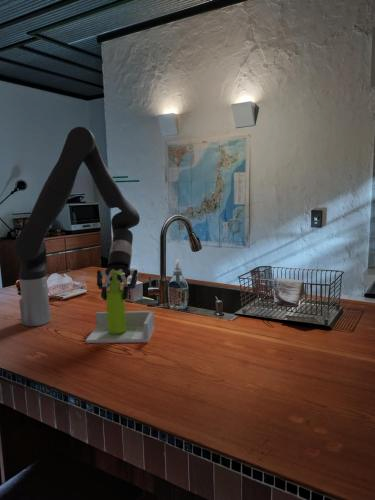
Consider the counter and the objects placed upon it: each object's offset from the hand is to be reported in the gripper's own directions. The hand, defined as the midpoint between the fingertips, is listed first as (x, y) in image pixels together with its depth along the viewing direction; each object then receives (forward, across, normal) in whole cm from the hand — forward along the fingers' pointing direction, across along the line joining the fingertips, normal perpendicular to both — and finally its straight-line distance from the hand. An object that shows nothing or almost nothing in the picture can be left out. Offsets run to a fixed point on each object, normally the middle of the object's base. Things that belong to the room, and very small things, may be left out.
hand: (114, 298), depth 124 cm
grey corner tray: (+7, +1, +11) cm, 13 cm away
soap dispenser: (+7, 0, +9) cm, 12 cm away
